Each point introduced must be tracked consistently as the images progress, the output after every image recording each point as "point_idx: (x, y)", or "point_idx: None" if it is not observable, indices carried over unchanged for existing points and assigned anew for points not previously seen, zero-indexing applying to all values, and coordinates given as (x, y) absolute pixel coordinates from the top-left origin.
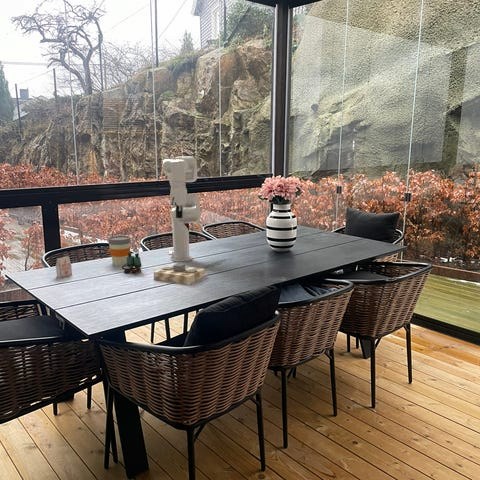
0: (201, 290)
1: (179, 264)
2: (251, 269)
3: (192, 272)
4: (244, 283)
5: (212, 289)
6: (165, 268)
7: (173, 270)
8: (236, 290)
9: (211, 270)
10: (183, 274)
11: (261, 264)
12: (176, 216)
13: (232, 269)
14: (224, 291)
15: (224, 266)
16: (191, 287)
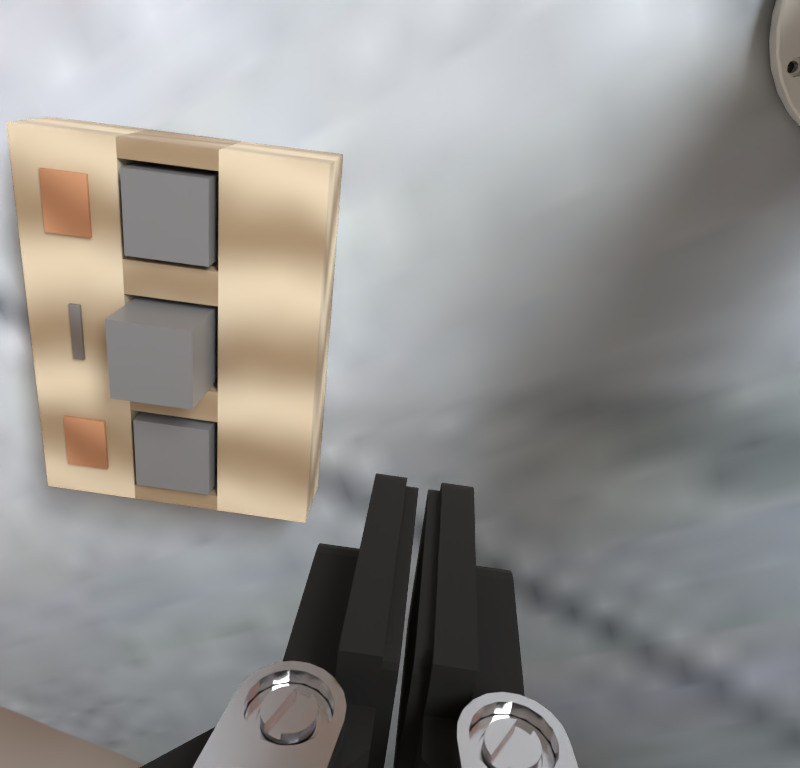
0: (10, 564)
1: (161, 362)
2: (601, 718)
3: (137, 483)
4: None
5: (63, 613)
6: (140, 198)
7: (143, 293)
8: (115, 724)
9: (499, 481)
10: (65, 431)
11: (763, 750)
12: (371, 506)
13: (571, 611)
14: (66, 677)
15: (654, 538)
16: (29, 490)
